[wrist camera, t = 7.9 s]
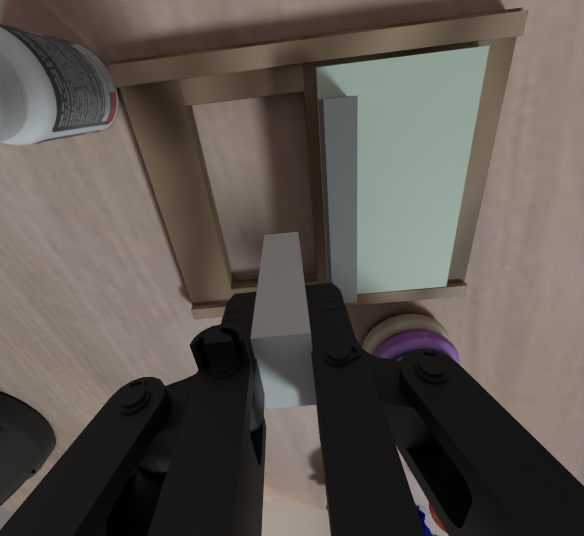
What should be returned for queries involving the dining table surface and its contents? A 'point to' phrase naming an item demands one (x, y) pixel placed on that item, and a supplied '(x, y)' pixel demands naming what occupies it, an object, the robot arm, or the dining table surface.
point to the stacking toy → (409, 344)
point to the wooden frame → (302, 78)
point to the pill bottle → (51, 89)
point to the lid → (395, 166)
